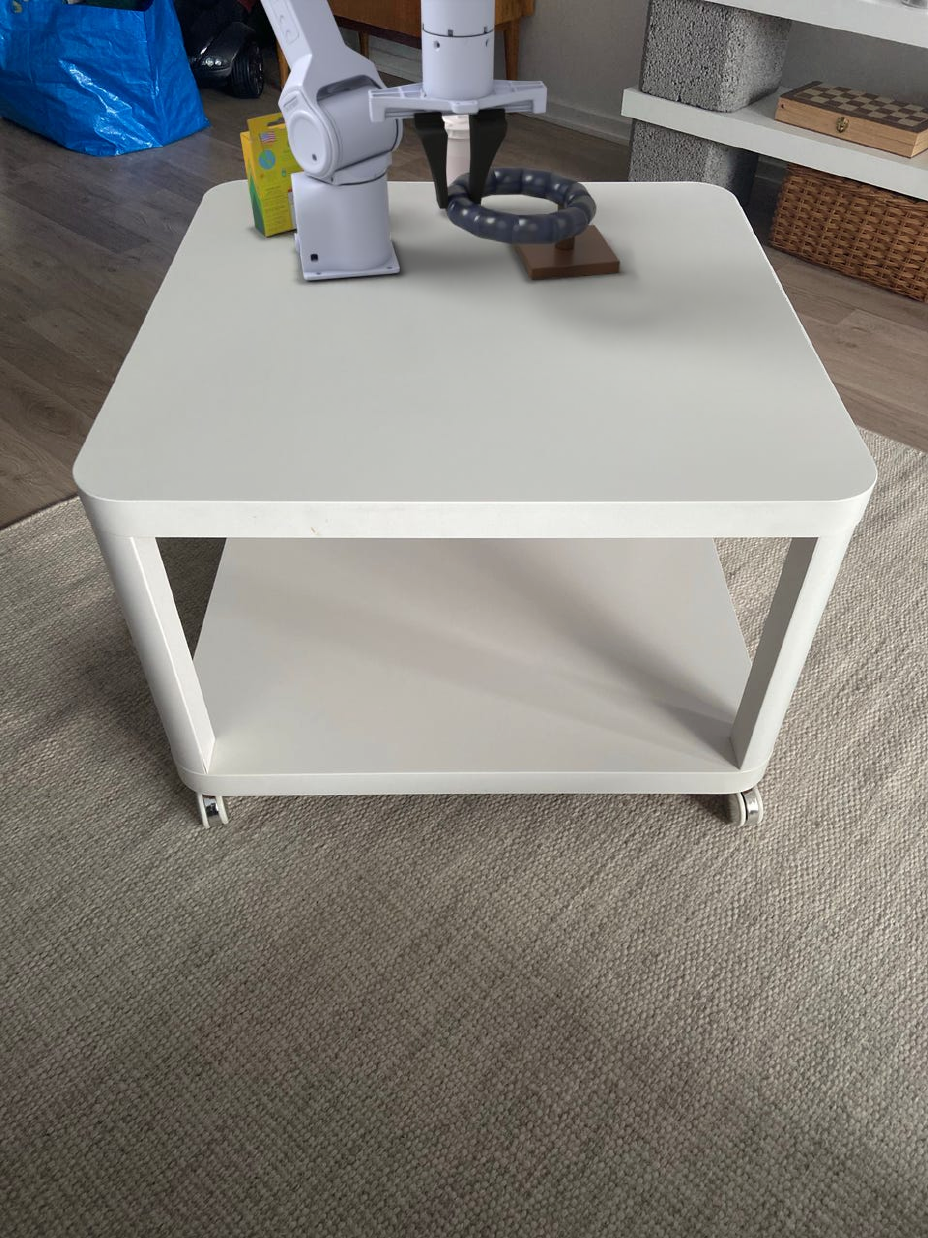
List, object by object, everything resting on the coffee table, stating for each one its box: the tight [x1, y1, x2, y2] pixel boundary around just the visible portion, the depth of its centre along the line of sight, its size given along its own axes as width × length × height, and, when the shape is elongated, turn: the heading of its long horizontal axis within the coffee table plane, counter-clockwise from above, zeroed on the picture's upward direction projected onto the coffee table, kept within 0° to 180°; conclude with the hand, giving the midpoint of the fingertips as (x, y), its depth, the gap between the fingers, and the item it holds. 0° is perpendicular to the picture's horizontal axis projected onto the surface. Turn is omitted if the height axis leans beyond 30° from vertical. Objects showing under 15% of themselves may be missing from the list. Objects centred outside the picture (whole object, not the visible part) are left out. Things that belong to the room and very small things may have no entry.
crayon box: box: [239, 112, 304, 238], centre depth 101 cm, size 7×3×12 cm, turn 123°
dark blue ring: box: [444, 166, 597, 246], centre depth 87 cm, size 13×13×2 cm
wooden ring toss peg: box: [512, 204, 621, 281], centre depth 97 cm, size 9×9×7 cm
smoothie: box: [442, 115, 483, 202], centre depth 103 cm, size 6×6×14 cm
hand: (458, 203), depth 86 cm, fingers closed on dark blue ring, 2 cm apart
